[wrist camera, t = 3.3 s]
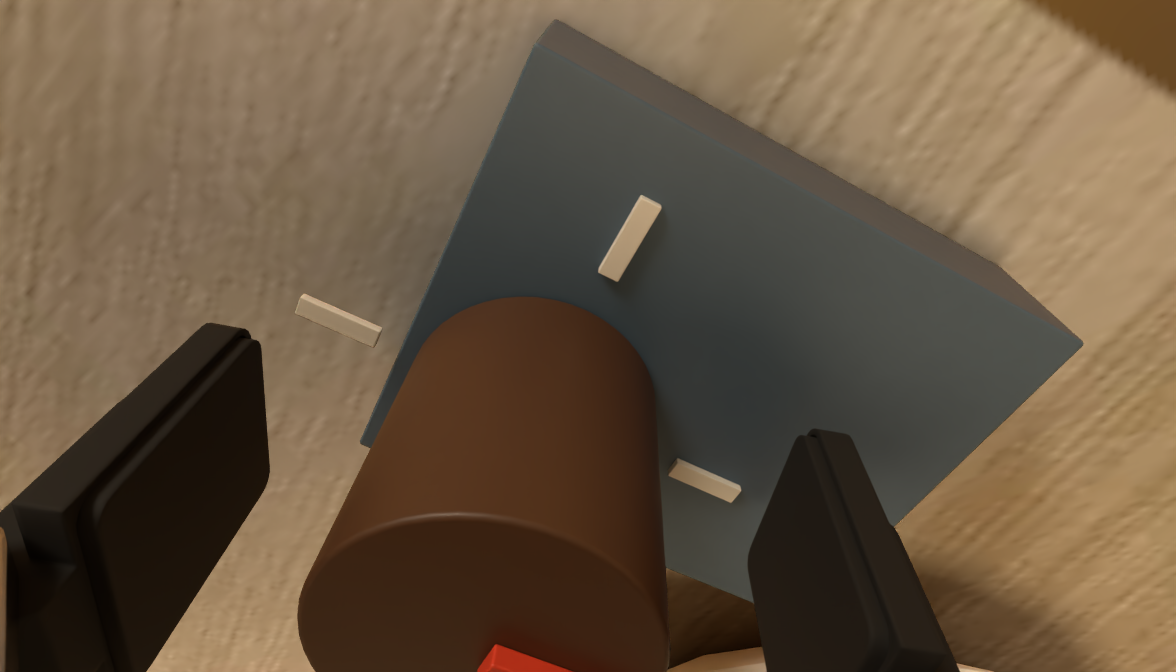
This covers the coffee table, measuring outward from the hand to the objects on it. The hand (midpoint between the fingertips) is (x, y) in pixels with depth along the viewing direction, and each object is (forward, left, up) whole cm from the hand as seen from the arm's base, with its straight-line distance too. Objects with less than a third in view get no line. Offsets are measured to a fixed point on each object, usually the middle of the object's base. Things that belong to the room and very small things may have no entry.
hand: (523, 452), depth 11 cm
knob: (0, 0, -1) cm, 1 cm away
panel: (+1, +1, -4) cm, 5 cm away
